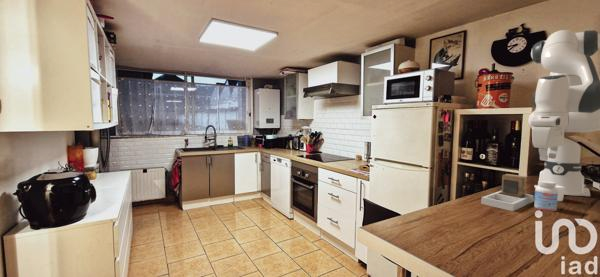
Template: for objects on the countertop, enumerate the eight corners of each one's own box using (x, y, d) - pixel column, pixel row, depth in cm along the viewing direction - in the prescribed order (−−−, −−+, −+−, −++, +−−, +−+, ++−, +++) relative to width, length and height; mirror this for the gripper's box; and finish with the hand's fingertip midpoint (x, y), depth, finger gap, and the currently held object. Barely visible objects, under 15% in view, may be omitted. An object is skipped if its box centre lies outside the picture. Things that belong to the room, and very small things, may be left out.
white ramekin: (569, 205, 102) (570, 187, 101) (551, 205, 102) (552, 187, 102) (552, 200, 109) (553, 183, 108) (536, 200, 109) (537, 183, 108)
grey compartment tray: (502, 198, 110) (503, 189, 110) (533, 205, 102) (533, 195, 102) (481, 207, 100) (481, 197, 99) (512, 215, 91) (513, 204, 91)
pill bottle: (536, 213, 93) (538, 182, 93) (531, 208, 99) (533, 179, 98) (559, 216, 90) (561, 184, 90) (552, 210, 96) (554, 180, 95)
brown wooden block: (506, 197, 107) (507, 173, 107) (524, 201, 102) (525, 176, 102) (500, 199, 104) (501, 175, 103) (518, 203, 99) (520, 178, 98)
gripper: (547, 121, 101) (545, 156, 101) (528, 120, 90) (526, 160, 90) (570, 121, 95) (568, 158, 96) (553, 120, 84) (551, 162, 85)
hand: (548, 159), depth 93 cm, fingers open, 8 cm apart
